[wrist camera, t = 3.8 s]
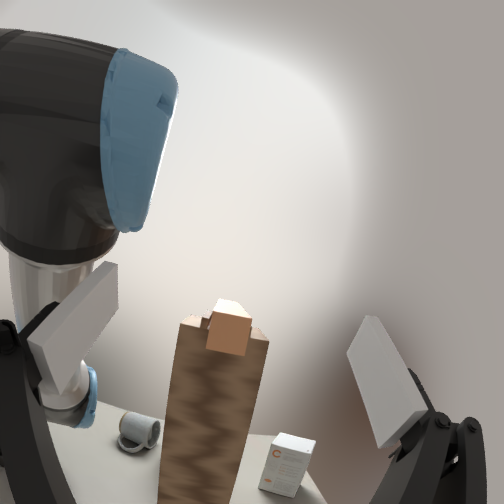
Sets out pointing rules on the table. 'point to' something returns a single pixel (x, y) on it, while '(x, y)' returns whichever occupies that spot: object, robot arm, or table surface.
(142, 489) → the table surface
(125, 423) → the ceramic mug
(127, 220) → the robot arm
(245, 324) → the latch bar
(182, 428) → the post
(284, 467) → the small box
